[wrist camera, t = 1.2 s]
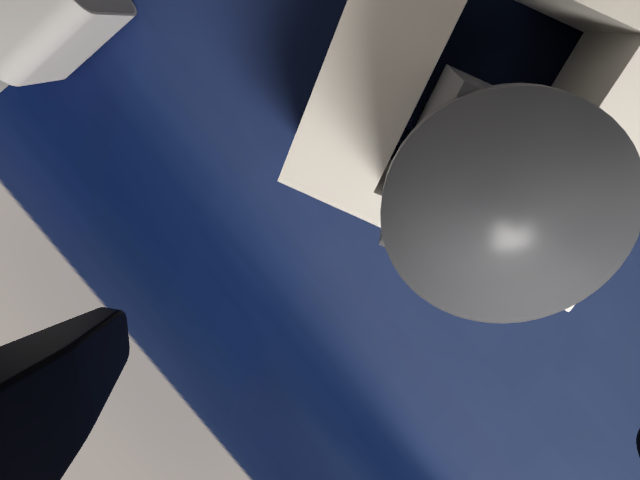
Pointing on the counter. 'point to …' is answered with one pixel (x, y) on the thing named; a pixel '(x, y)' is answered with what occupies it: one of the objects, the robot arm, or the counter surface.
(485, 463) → the counter surface
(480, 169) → the charcoal plunger
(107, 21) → the usb wall charger
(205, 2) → the counter surface
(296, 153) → the tray
